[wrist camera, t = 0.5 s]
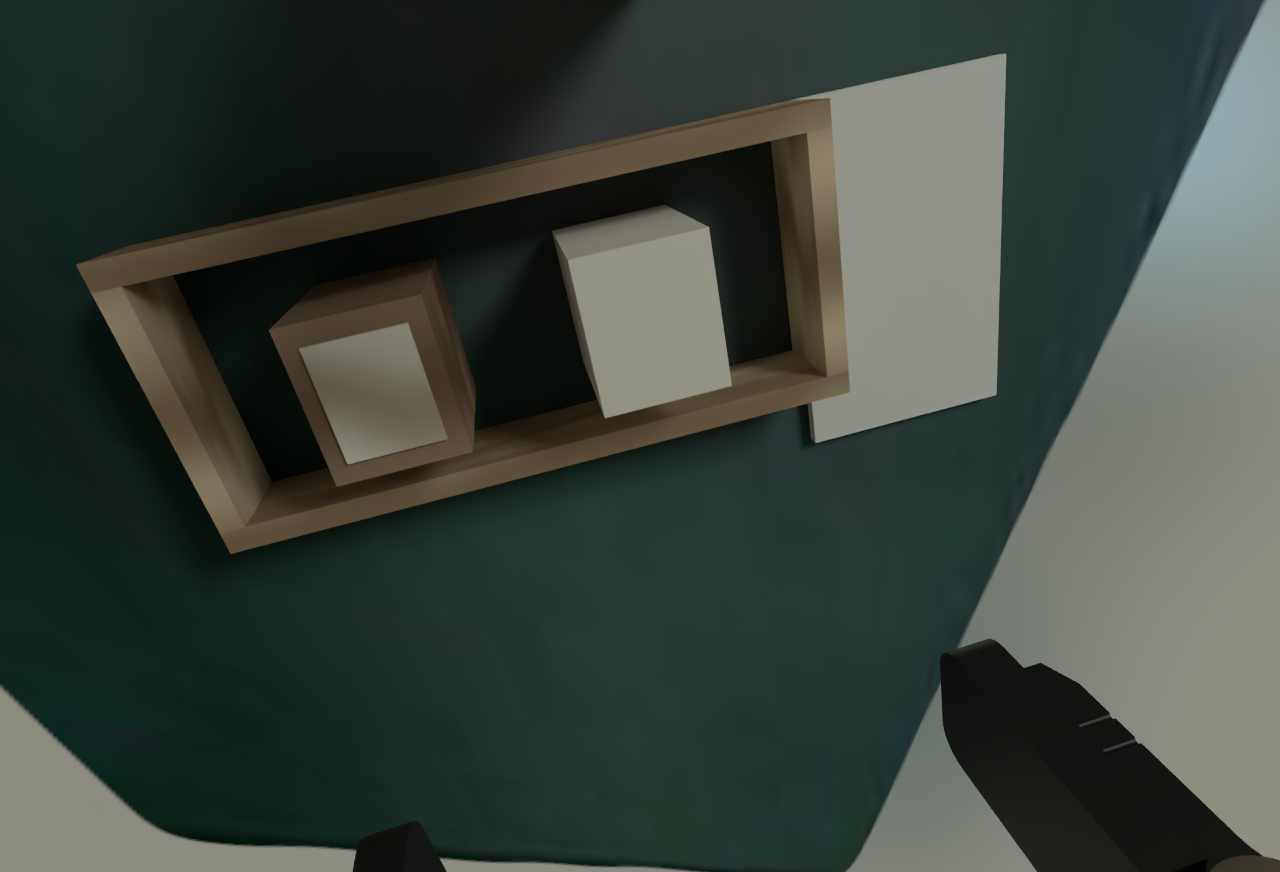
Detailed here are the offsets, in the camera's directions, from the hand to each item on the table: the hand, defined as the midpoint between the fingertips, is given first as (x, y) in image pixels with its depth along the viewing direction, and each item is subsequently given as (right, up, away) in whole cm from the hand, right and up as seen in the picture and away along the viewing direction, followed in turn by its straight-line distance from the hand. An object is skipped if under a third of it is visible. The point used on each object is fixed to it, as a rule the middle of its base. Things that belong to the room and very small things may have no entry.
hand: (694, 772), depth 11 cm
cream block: (-2, +12, +21) cm, 24 cm away
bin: (-6, +10, +21) cm, 24 cm away
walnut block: (-11, +9, +20) cm, 25 cm away
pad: (+11, +13, +23) cm, 29 cm away
